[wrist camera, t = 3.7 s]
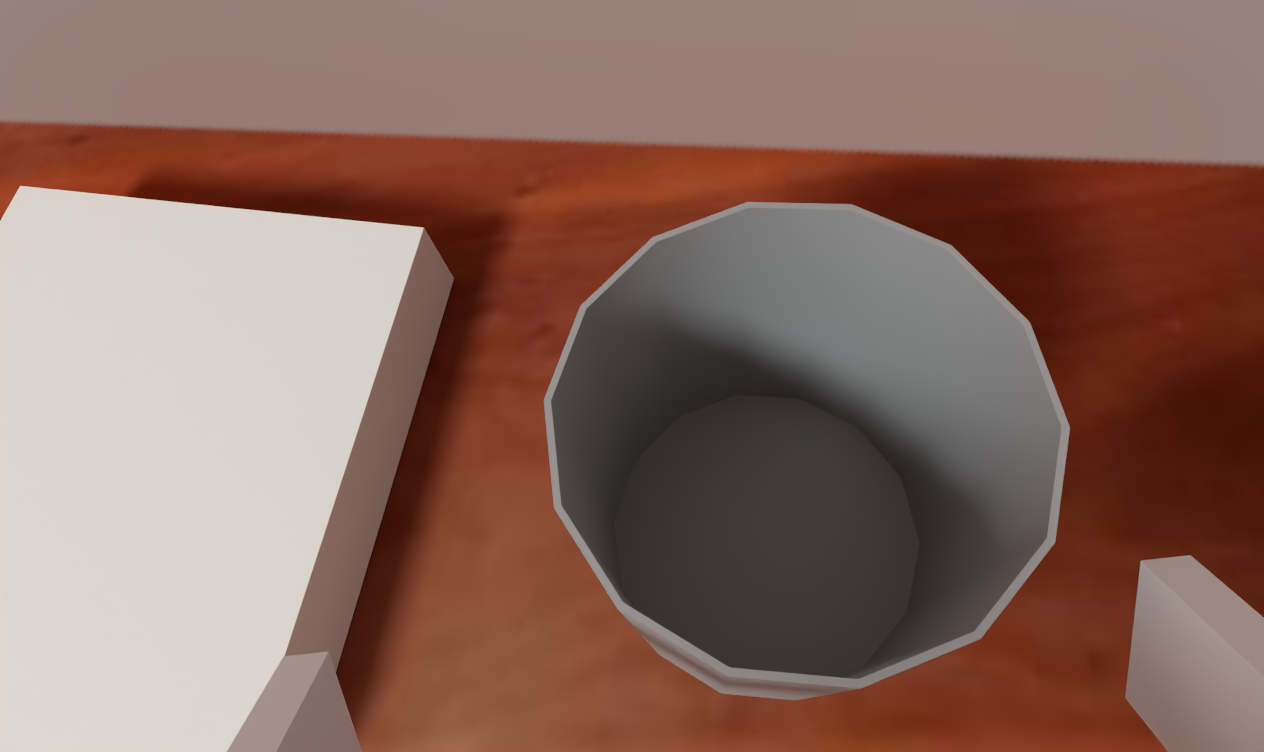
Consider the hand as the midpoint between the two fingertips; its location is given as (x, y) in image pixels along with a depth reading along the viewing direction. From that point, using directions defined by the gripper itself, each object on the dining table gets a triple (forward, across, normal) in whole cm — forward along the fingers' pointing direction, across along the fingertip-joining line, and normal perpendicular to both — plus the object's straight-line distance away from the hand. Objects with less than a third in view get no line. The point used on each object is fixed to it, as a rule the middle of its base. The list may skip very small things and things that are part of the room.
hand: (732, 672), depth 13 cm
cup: (+9, +2, -3) cm, 9 cm away
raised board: (+11, -16, 0) cm, 20 cm away
